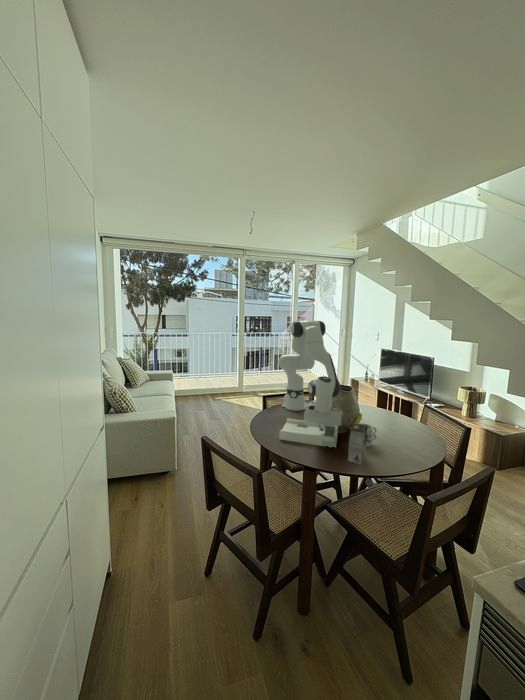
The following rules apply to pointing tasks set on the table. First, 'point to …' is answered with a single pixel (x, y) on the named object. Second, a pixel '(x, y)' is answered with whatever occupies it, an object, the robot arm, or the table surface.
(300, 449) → the table surface
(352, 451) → the coffee box
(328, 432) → the block
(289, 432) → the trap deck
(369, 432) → the mug
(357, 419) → the plant pot
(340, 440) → the table surface
